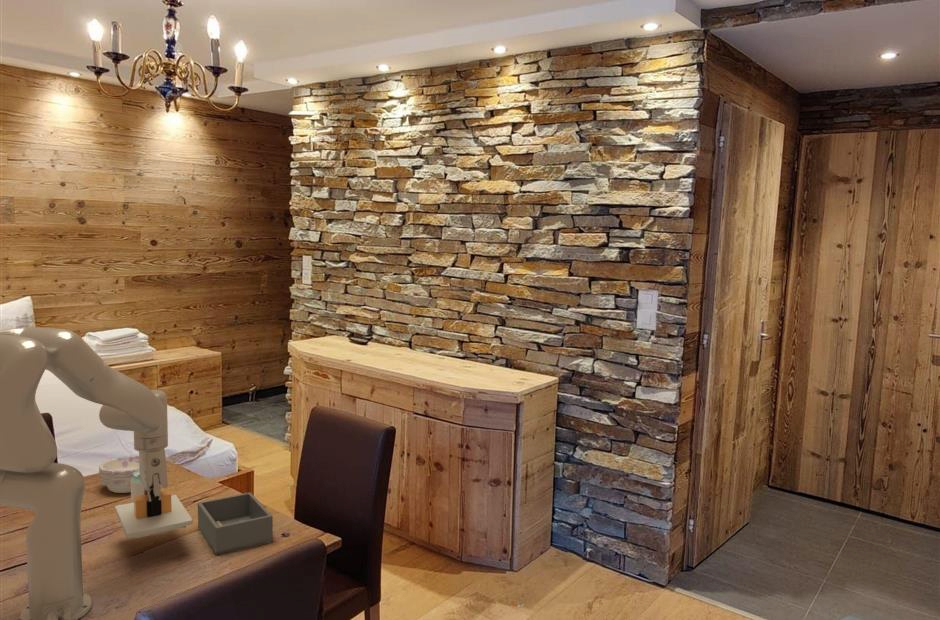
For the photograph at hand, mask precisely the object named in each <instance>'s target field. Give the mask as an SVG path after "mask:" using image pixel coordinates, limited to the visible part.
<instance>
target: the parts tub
mask: <svg viewBox="0 0 940 620" xmlns="http://www.w3.org/2000/svg"><path fill="white" fill-rule="evenodd" d="M273 517H274V516H273V514H272V513H270V511H269V510H268V509H266V508H265V506H264V505H263V504H262V503H261V502H260V501H259V499H257V498H256V497H255V495H254V494H253V493H252V492H245V493H240V494H235V495H230V496H225V497H219V498H215V499H209V500H205V501H200V502H197V528H198V530H199V531H201V532H200V533H201V535H202V536H203V538H204V539H205V541H206V542H207V544H208V545H209V547H210V548H211V549H212V551H213V553H214V554H215V556H220V555H224V554H229V553H232V552H236V551H241V550H245V549H249V548H253V547H257V546H261V545H262V546H263V545H265V544H270V543H273V540H274V539H273V537H274V536H273V534H274V533H273V532H274V531H273V529H274V528H273V527H274V526H273V524H274V523H273V522H274V520H273Z"/></svg>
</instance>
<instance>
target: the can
mask: <svg viewBox="0 0 940 620" xmlns="http://www.w3.org/2000/svg"><path fill="white" fill-rule="evenodd" d="M141 495H144V486H143V484H142V482H141V480H140V472H139V471H137V472H135V473H134V474H133V477H132V479H131V492H130V499H131V500H130V503H134V497H135V496H141Z"/></svg>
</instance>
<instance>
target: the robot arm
mask: <svg viewBox="0 0 940 620" xmlns="http://www.w3.org/2000/svg"><path fill="white" fill-rule="evenodd" d="M46 370H47V371H49V372H50V373H51V374H53V375H54V376H55V377H56V378H57V379H58V380H59V381H61V382H62V383H63V384H64V385H65V386H66V387H67V388H69V390H70V391H72V392H73V393H74V394H75V395H76V396H77V397H79V398H81V399H83V400H86V401H89V402H91V403H95V404H98V405H102V406H101V407H100V409H99V412H98V413H99V414H98V417H99V421H100V423H101V424H102V425H103V426H104V427H106V428H108V429H111V430H117V431H128V432H133V449H134V450H135V451H137V452H138V456H139V472H140V480H141V482H142V484H143V486H144V495H146V494H148V501H147V516H148V517H153V516H158V515H161V514H162V509H161V492H162V489H161V487H162V488H163V489H167V488H168V486H169V484H168V482H169V481H168V468H167V456H166V450H165V449H166V448H168V446H169V433H168V432H169V430H168V429H169V428H168V427H169V426H168V423H169V422H168V396H167V393H166V392H164V391H163V390H159V389H150V388H149V387H147V386H146V385H144V384H143V383H141V382H139V381H137V380H136V379H133V378H132V377H130V376H127V375H126V374H124V373H123V372H121V371H119V370H117V369H114V368H113V367H111V366H110V365H109V364H108V363H106V361H105V360H103V358H102V357H101V356H100V355H99V354H98V353H97V352H96V351H95V350H94V349H93V348H92V347H91V346H90V345H89V344H88V343H87V342H86V341H85V340H84V339H83V338H82V337H81V335H79V334H77V333H76V332H74V331H72V330H70V329H64V328H55V327H54V328H53V327H43V326H42V327H39V326H26V327H16V328H6V329H0V505H1V506H4V507H10V508H16V509H22V510H27V511H33V512H34V517H33V519H32V520H31V522H30V524H29V525H28V527H27V530H26V532H25V533H26V534H25V547H26V548H25V549H26V569H27V586H28V588H27V589H28V592H27V593H28V604H27V606H25V607H24V609H23V610H22V611H21V612H20V615H19V616H20V620H79V619H82V617H84V616H85V615H86V614H87V613H88V612H89V611H91V608H92V606H93V605H92V604H93V603H92V602H93V601H92V596H90V595H89V594H88V593H85V592H84V584H83V561H82V560H83V556H82V555H83V554H82V531H81V530H82V529H81V526H82V525H81V517H82V516H81V515H82V507H83V506H82V505H83V499H84V495H85V489H86V483H85V477H84V476H83V473H82V472H81V471H80V470H79V469H77V468H76V467H75V466H74V467H73V466H71V465H69V464H65V463H59V462H55V460H56V459H57V456H58V447H57V442H56V440H55V438H54V436H53V434H52V432H51V430H50V428H49V426H48V424H47V422H46V421H45V419H44V417H43V415H42V413H41V411H40V409H39V406H38V405H37V401H36V395H37V389H38V387H39V384H40V381H41V379H42V377H43V375H44V373H45V371H46Z"/></svg>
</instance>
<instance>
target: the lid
mask: <svg viewBox="0 0 940 620" xmlns="http://www.w3.org/2000/svg"><path fill="white" fill-rule="evenodd" d="M180 500H181V499H179V497H178V495H177V494H172V493H171V492H170V491H169V490H164V491H162V490H161V509H162V514H161V515H158V516H153V517H148V516H147V501H148V494H146V495H141V496H135V497H134V503H131V502H129V503H124V504H123V503H122V504H118V505H115V506H114V510H115V514H116V515H117V518H118V520H119V522H120V524H121V528H122V530H123V532H124V534H125V538H127V539H129V538H131V539H132V540H134V539H138V538H142V537H147V536H152V535H157V534H161V533H165V532H170V531H176V530H180V529H185V528H186V527H187V526H191V525H193V524H194V523H193V518H192V517H191V515H190V514H189V513H188V511H187V510H186V507H185V506H184V505H183V503H182V501H180Z"/></svg>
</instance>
